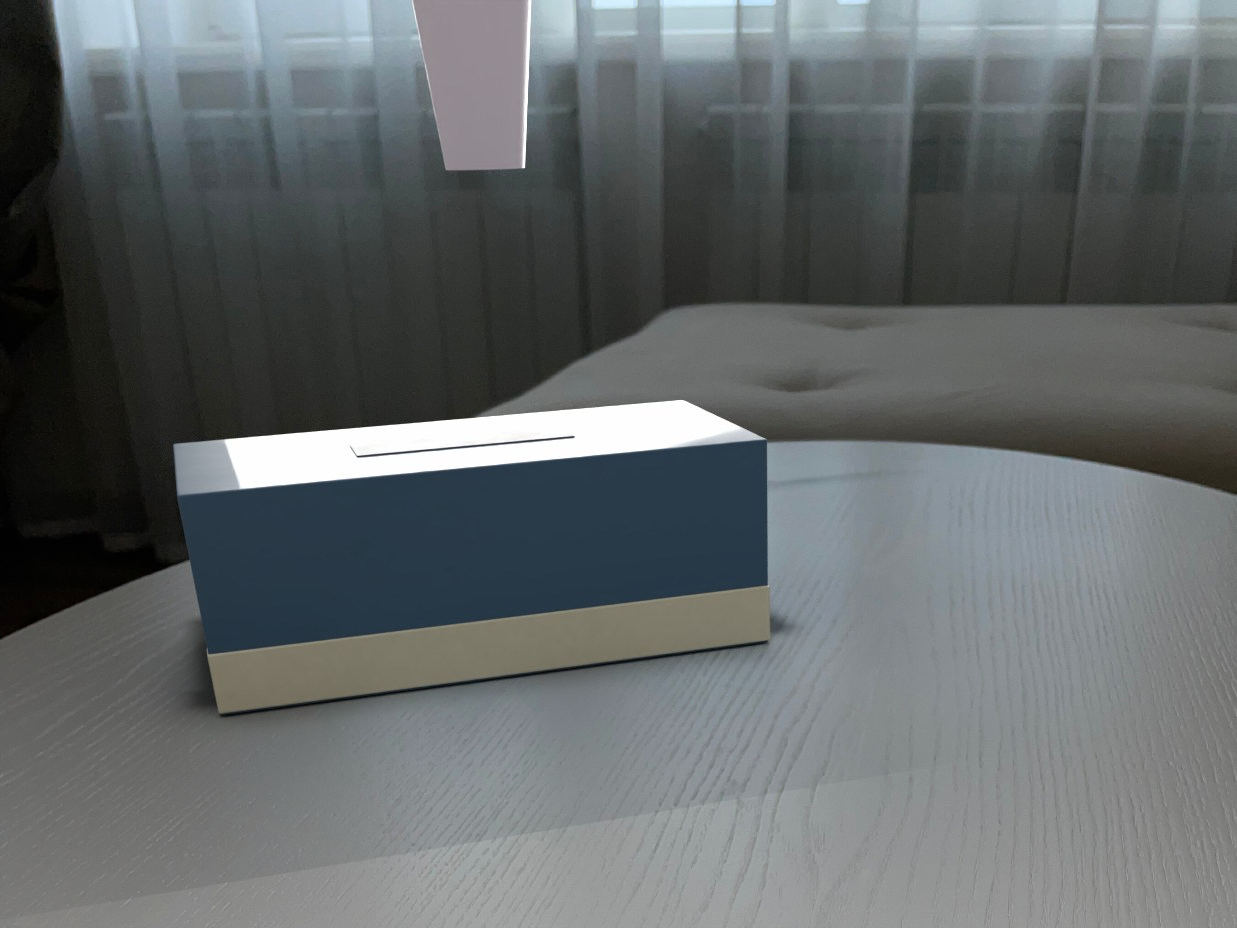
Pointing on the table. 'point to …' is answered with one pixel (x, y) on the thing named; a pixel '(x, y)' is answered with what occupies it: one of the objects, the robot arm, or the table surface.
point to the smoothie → (477, 79)
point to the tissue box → (472, 549)
